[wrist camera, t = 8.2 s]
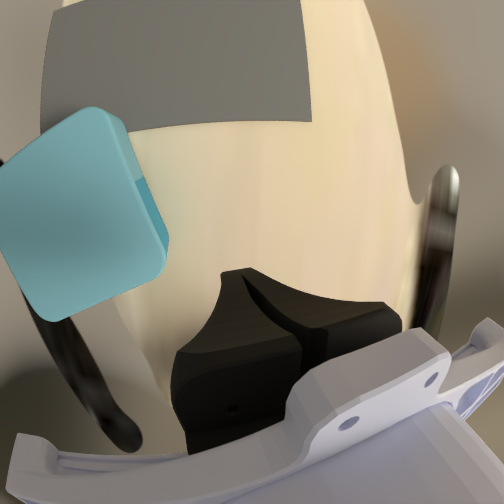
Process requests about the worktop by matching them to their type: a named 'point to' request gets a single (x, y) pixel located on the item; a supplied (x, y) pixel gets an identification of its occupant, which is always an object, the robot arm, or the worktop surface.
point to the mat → (177, 62)
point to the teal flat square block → (79, 216)
